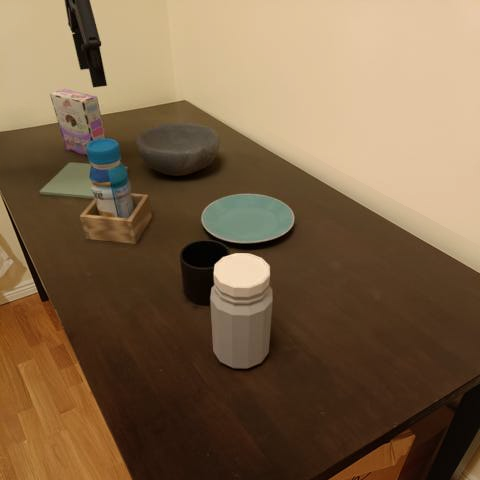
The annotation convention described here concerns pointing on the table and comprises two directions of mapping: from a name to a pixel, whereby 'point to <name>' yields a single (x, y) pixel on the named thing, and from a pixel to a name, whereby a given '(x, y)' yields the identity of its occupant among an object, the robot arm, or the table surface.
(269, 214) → the plate
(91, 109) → the candy box
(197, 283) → the mug
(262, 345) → the jar
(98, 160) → the beverage bottle
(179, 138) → the bowl
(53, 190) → the mat
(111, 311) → the table surface
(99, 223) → the wooden box
